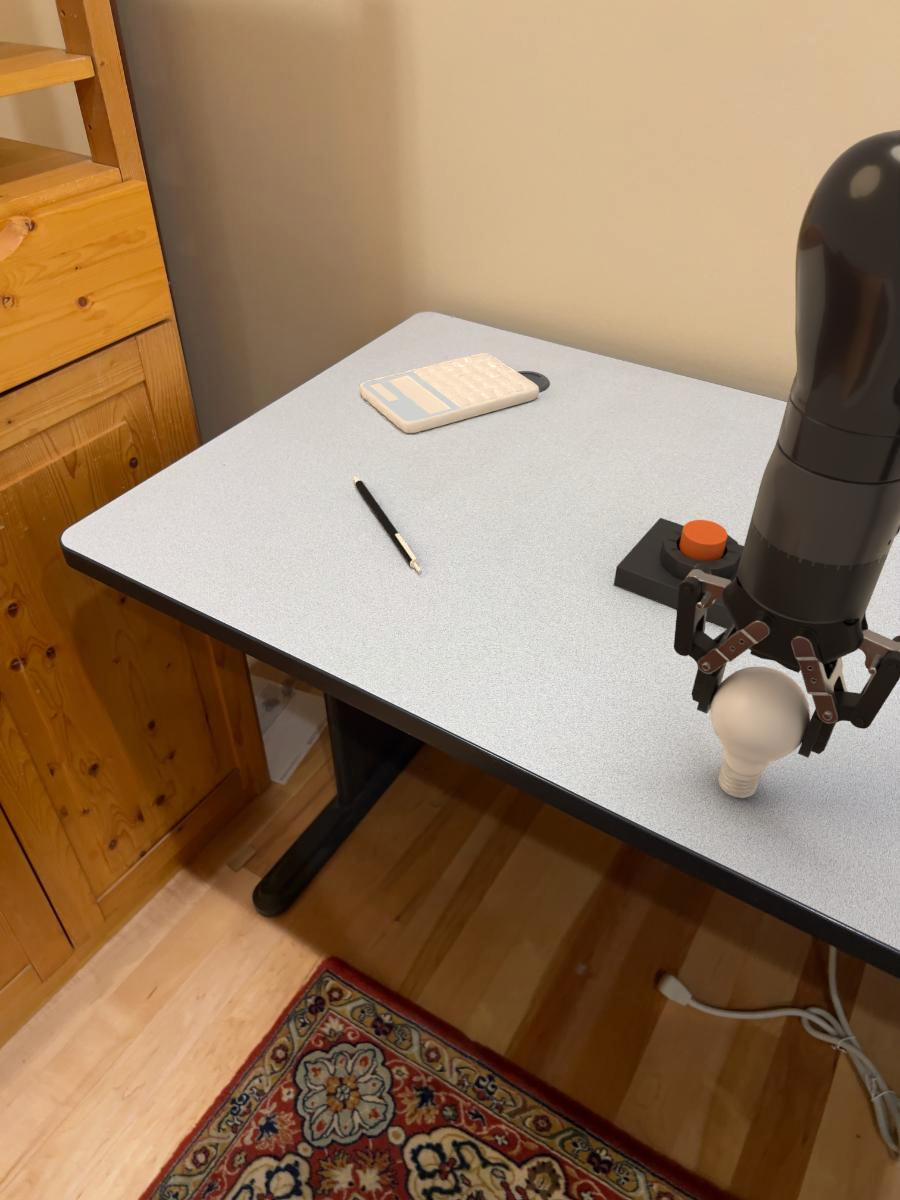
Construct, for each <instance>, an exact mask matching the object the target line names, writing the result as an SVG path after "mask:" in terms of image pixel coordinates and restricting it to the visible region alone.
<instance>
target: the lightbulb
mask: <svg viewBox="0 0 900 1200" xmlns="http://www.w3.org/2000/svg"><path fill="white" fill-rule="evenodd" d="M709 712H710V713H709V715H710V723H711V726H712V729H713V732H714V734H715V736H716V738H717V739H718V741H719V742H720V744H721V750H722V751H721V752H722V757H723V760H722V761H723V762H722V765H721V767H720V771H719V775H718V785H719V787H720V788H721V789H722V791H724V792H725V793H726V794H728V795H730V796H731V797H735V798H740V799H744V798H749V797H751V796H753V795H754V794H755V793H756V791H757V788H758V784H759V783H760V779H761V776H762V774H763V773H764V771H766V770H767V769H768V768H769V767H770V765H771V764H772V763H773V762H776V761H779V760H781V759H783V758H786V757H788V756H789V755H790V754H792V753H793V752H794V751H796V750H797V749H798V748H800V746H801V744H802V741H803V738H804V736H805V733H806V730H807V728H808V725H809V722H810V720H811V707H810V703H809V700H808V697H807V696H806V693H805V692H804V690H803V689H802V687H801V686H800V685H799V684H798V682H796V681H795V680H794V679H793V678H792V677H791V676H790V675H788V674H786V673H784V672H783V671H780V670H778V669H776V668H773V667H768V666H748V667H744V668H741V669H738V670H736V671H734V672H732V673H731V674H729V675H728V676H727V677H725V678H724V679H722V682H721V684H720V685H719V686H718V688H717V689H716V691H715V693H714V696H713V698H712V702H711V708H710V710H709Z"/></svg>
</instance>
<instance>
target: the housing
mask: <svg viewBox="0 0 900 1200" xmlns="http://www.w3.org/2000/svg"><path fill="white" fill-rule="evenodd" d="M683 527H684V525H683V524H680V523H677V522H674V521H671V520H669V519H667V518H663V517H659V518H658V519H657V520H656V522H655V523H654V524H653V525H652V526H651V528H650V529H649V530H648V531H647V532H646V533H645V534H644V535H643V536H642V537H641V538H640V540H639V541H638V542H637V543H636V544H635V546H633V548H631V550H630V551H629V552H628V553H627V555H626V556H624V558H623V559H622V560H621V561H620V562H619V563H618V565H616V569H615V575H614V582H613V586H616V587H618V588H621V589H624V590H626V591H628V592H631V593H634V594H637V595H639V596H642V597H644V598H646V599H649V600H652V601H655V602H658V603H659V604H663V605H665V606H668V607H670V608H673V609H675V610H677V605H678V595H679V586H680V584H681V583H682V582H683V580H684V579H685V578H686V577H687V575H688V574H689V573H690V571H691V570H692V569H693V568H694V566H695V565H696V564H699V563H702V564H705V565H707V566H708V567H709V568H710V570H711V575H714V576H718V577H721V578H725V579H729V580H731V579H732V578H733V577H734V576H735V575H736V574H737V571H738V567H739V563H740V559H741V556H742V552H743V548H744V545H742V544H740V543H738V541H737V540H735V539H734V538H733V537H732V536H730V535H729V534H728V533H727V535H728V537H727V541H726V545H725V549H724V553H723V556H722V557H721V558H720V559H718V560H715V561H699V560H696V559H693V558H690V557H687V556H685V555H684V554H683V553H682V552H681V551H680V549H679V544H680V539H681V535H682V530H683ZM706 622H709V623H712V624H715V625H717V626H720V627H721V628H722V627H723V628H725V629H728V628H729V627H730V625H731V624H732V623H733V622H732V620H731V618H730V616H729V613H728V611H727V609H726V607H725V605H724V603H723V599H722V598H718V599H716V600H715V601H714V603H713V604H712V606H711V607H709V608H707V615H706Z"/></svg>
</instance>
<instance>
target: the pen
mask: <svg viewBox="0 0 900 1200" xmlns="http://www.w3.org/2000/svg"><path fill="white" fill-rule="evenodd" d="M352 478H353V481H354V485H355V487H356V489H357V490H358V492H359V493H360V495H361V497H363V499H364V501H365V502H366V503H367V505H368V507H369V508H370V510H371V511H372V512H373V514H374V516H375V517H376V518H377V519H378V521H379V522H380V524H381V525H382V527H383V529H384V530H385V531H386V533H387V534H388V536H389V537H390V538H391V541H392V542H393V543H394V544H395V546H396V547H397V549H398V550H399V552H400V553H401V555H402V556H403V558H404V559H405V560H406V562H407V564H408V565H409V566H410V567H411V569H415V570H416V572H417V574H422V572H423V570H422V568H421V567H420V561H419V560H418V558H417V557H416V556H415V555H416V554H414V552H413V551H412V549H411V548H410V547H409V545H408V543H407V542H406V541H405V539H404V538H403V537H402V535H401V533H399V531H398V530H397V529H396V527H395V525H394V524H393V523H392V522H391V520H390V519H389V517H388V516H387V514H386V513H385V511H384V510H383V508H382V507H381V506H380V504H379V503H378V502H377V500H376V499H375V497H374V496H373V494H372V493H371V492H370V490H369V489H368V487H367V486H366V485H365V483H364V481H362V480H361V479H360V478H358V477H357V476H355V475H353V476H352Z"/></svg>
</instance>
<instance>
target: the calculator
mask: <svg viewBox="0 0 900 1200" xmlns="http://www.w3.org/2000/svg"><path fill="white" fill-rule="evenodd" d="M358 388H359V393H360V395H361V397H362V398H363V399H365V400H366V401H367V402H368V403H369V404H370V405H372V406H373V407H374V408H375V409H376V410H377V411H378V412H380V413H381V414H382V415H383V416H384V417H386V418H387V419H388V420H389V421H390V422H391V423H393V424H394V425H395V426H396V427H397V428H398V429H400V430H401V431H402V432H404V433H407V434H415V433H419V432H424V431H427V430H431V429H435V428H438V427H441V426H445V425H449V424H453V423H456V422H459V421H463V420H467V419H470V418H474V417H478V416H482V415H485V414H489V413H492V412H496V411H499V410H502V409H506V408H510V407H514V406H517V405H521V404H524V403H528V402H532V401H534V400H535V399H537V398H538V397H539V395H540V388H539V386H538V385H537V384H536V383H535V382H533V381H532V380H531V379H530V378H528V377H526V376H524V375H523V374H521V373H519V371H517V370H515V369H513V368H512V367H510V366H509V365H507V364H506V363H504V362H503V361H501V360H500V359H498V358H496V357H495V356H493V355H492V354H490V353H487V352H481V353H475V354H471V355H467V356H463V357H459V358H454V359H450V360H447V361H441V362H438V363H435V364H431V365H430V364H429V365H425V366H422V367H418V368H414V369H410V370H406V371H401V372H397V373H394V374H388V375H385V376H381V377H377V378H372V379H369V380H366V381H363V382H361V383H360V384H359V387H358Z"/></svg>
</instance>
